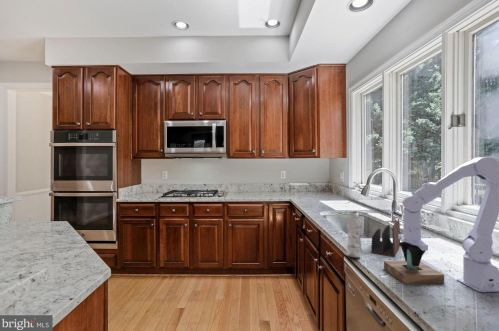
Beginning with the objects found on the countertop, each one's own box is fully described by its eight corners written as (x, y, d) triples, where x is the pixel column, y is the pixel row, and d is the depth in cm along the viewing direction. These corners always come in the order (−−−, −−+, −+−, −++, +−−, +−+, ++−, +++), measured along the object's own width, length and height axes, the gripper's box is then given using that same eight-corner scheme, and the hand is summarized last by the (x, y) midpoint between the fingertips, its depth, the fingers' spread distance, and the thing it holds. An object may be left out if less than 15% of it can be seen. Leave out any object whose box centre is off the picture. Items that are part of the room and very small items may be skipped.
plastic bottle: (358, 254, 127) (358, 211, 127) (364, 259, 120) (364, 213, 120) (344, 254, 127) (344, 211, 127) (350, 259, 120) (350, 214, 120)
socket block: (444, 283, 97) (444, 274, 97) (405, 284, 96) (405, 275, 96) (417, 267, 111) (417, 260, 111) (383, 268, 110) (383, 261, 110)
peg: (420, 273, 102) (420, 251, 102) (411, 273, 101) (411, 252, 101) (413, 269, 105) (413, 248, 105) (404, 269, 105) (404, 248, 105)
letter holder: (400, 246, 139) (400, 218, 139) (394, 257, 123) (394, 226, 123) (379, 243, 145) (379, 216, 145) (370, 253, 129) (370, 223, 129)
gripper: (390, 223, 110) (390, 257, 110) (414, 232, 96) (414, 271, 96) (408, 223, 110) (408, 256, 111) (433, 232, 96) (433, 271, 96)
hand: (412, 263), depth 103 cm, fingers closed on peg, 4 cm apart
